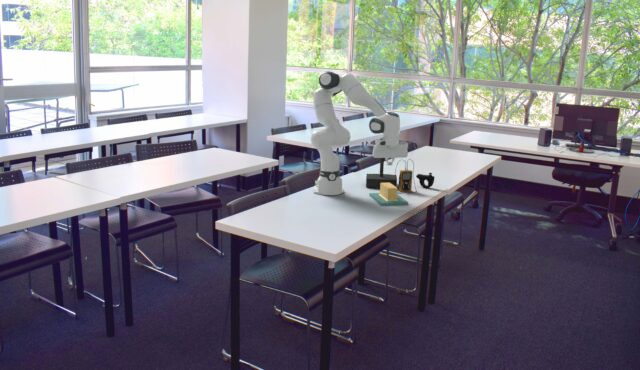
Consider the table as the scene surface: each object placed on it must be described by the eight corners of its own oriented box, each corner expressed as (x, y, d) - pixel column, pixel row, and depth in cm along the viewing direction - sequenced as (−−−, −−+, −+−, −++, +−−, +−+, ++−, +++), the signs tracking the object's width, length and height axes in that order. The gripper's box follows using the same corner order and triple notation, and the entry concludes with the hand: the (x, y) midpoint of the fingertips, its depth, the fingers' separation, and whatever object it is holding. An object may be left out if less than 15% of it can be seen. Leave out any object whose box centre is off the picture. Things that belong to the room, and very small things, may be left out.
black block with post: (395, 183, 373) (397, 153, 369) (396, 189, 357) (398, 158, 352) (366, 182, 375) (367, 152, 370) (365, 188, 359) (367, 157, 354)
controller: (431, 189, 358) (432, 174, 355) (414, 186, 366) (415, 171, 363) (435, 188, 361) (436, 173, 358) (418, 185, 369) (419, 170, 366)
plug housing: (379, 194, 338) (380, 182, 336) (389, 194, 339) (389, 182, 337) (387, 200, 325) (388, 188, 323) (396, 200, 326) (397, 188, 324)
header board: (369, 195, 341) (369, 185, 340) (394, 194, 345) (395, 184, 343) (380, 205, 320) (381, 194, 319) (407, 204, 324) (408, 193, 322)
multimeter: (398, 195, 343) (400, 162, 338) (393, 191, 353) (394, 159, 348) (421, 194, 346) (423, 162, 341) (415, 190, 356) (417, 158, 351)
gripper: (406, 140, 329) (404, 163, 333) (372, 140, 325) (370, 164, 328) (410, 142, 323) (408, 166, 327) (375, 142, 319) (374, 166, 322)
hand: (389, 165), depth 328 cm, fingers closed
